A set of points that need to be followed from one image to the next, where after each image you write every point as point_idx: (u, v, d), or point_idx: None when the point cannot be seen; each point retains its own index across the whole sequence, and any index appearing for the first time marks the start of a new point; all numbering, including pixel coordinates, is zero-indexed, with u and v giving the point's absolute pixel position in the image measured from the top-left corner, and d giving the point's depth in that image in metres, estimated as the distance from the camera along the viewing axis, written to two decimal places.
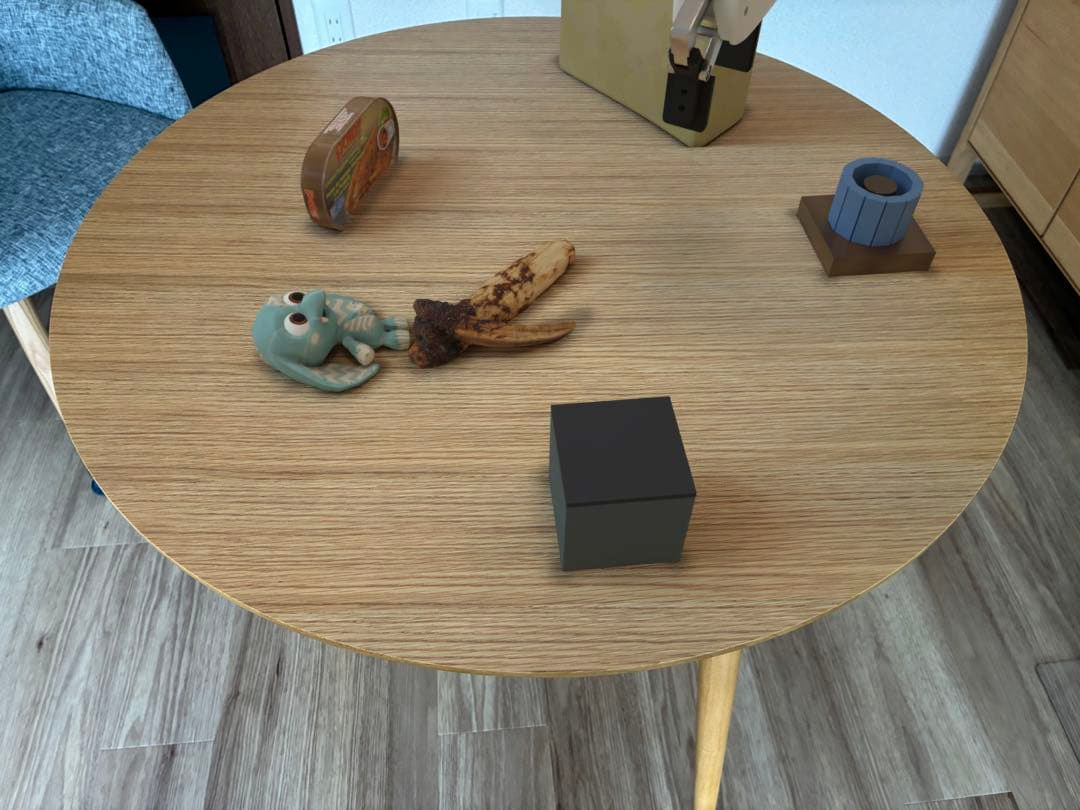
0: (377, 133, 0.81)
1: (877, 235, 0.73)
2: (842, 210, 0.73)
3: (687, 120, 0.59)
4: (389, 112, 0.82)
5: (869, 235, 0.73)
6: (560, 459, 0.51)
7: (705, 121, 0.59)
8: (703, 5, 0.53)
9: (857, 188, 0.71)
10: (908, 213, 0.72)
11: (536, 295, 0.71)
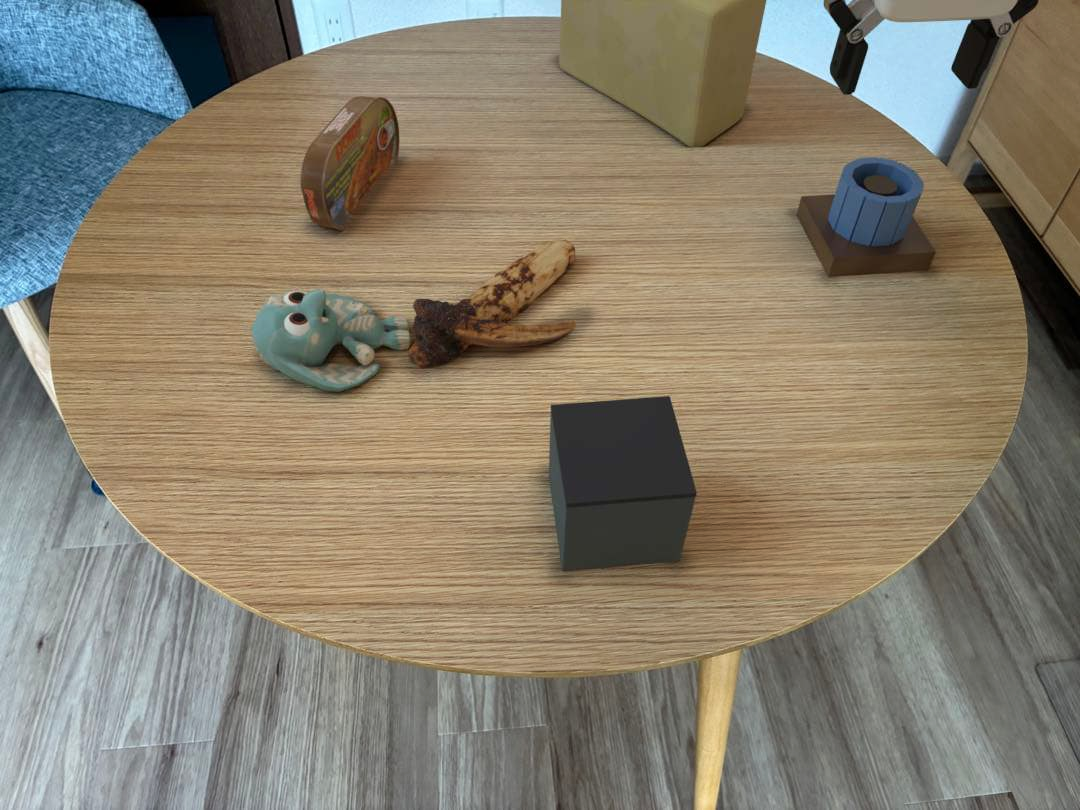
0: (377, 133, 0.81)
1: (877, 235, 0.73)
2: (842, 210, 0.73)
3: (835, 76, 0.64)
4: (389, 112, 0.82)
5: (869, 235, 0.73)
6: (560, 459, 0.51)
7: (848, 84, 0.64)
8: None
9: (857, 188, 0.71)
10: (908, 213, 0.72)
11: (536, 295, 0.71)
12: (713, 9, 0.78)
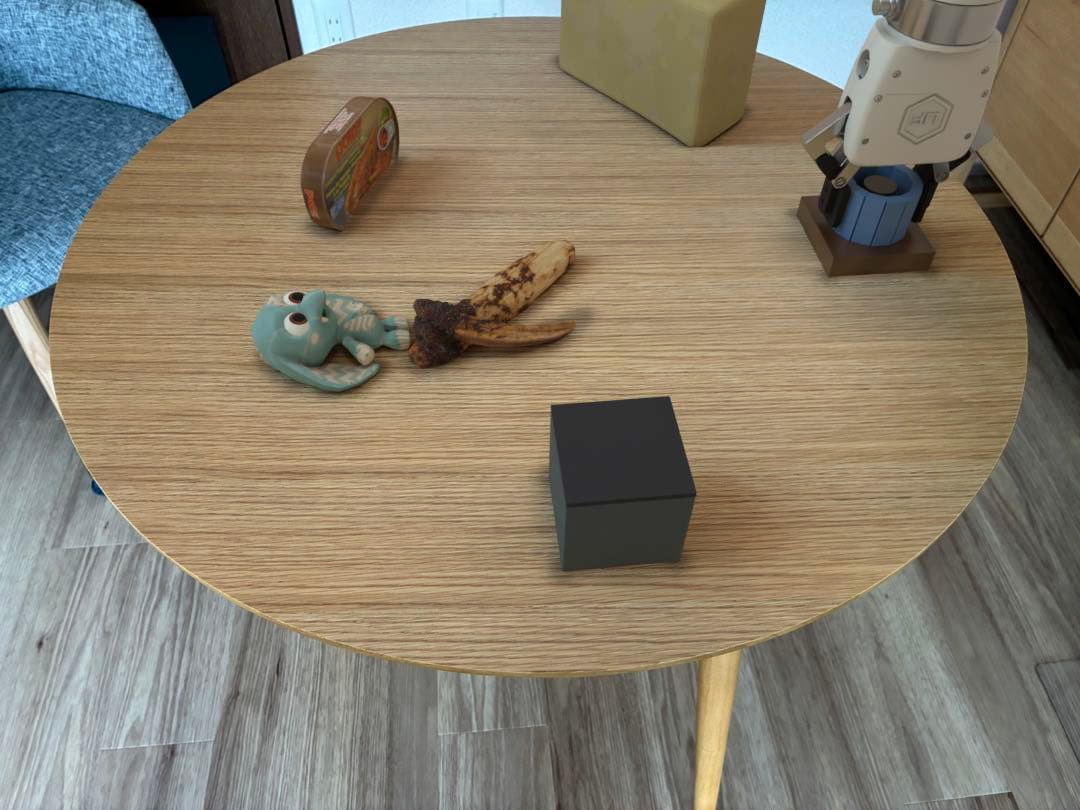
0: (377, 133, 0.81)
1: (877, 235, 0.73)
2: None
3: (822, 212, 0.74)
4: (389, 112, 0.82)
5: (869, 235, 0.73)
6: (560, 459, 0.51)
7: (834, 220, 0.73)
8: (830, 127, 0.67)
9: (857, 188, 0.71)
10: (908, 213, 0.72)
11: (536, 295, 0.71)
12: (713, 9, 0.78)
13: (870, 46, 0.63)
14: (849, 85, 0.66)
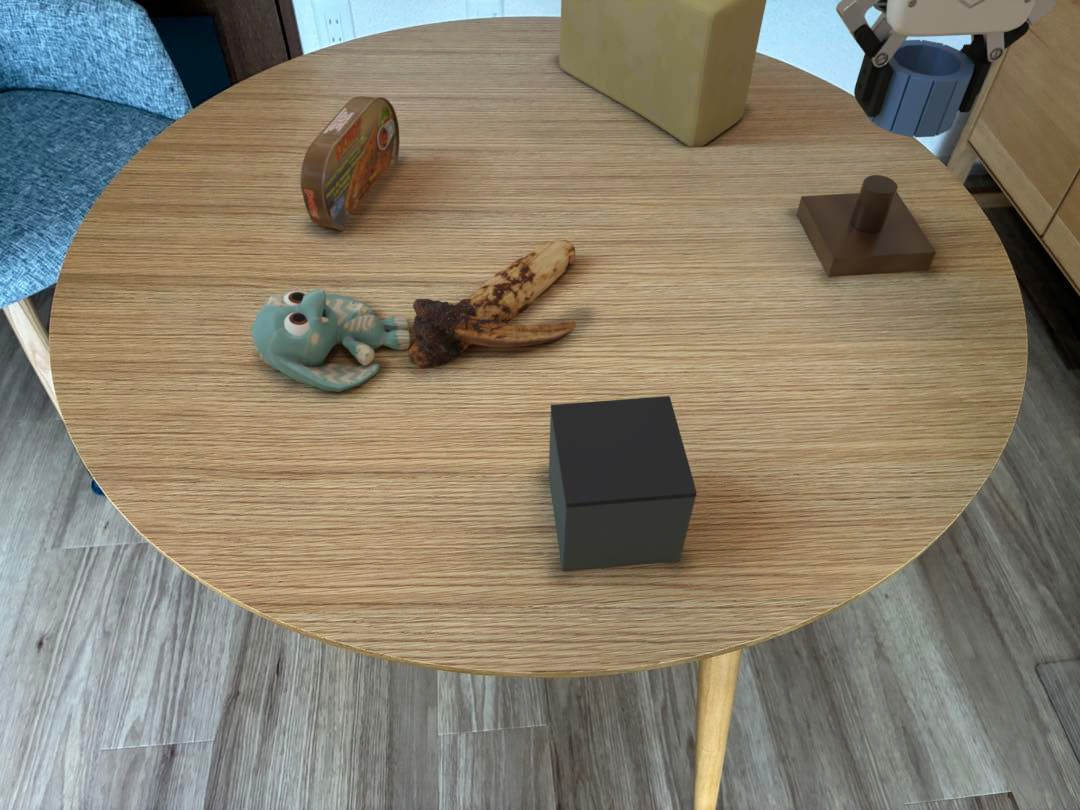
0: (377, 133, 0.81)
1: (922, 123, 0.64)
2: None
3: (859, 99, 0.66)
4: (389, 112, 0.82)
5: (913, 123, 0.65)
6: (560, 459, 0.51)
7: (873, 107, 0.65)
8: None
9: (899, 68, 0.63)
10: (957, 97, 0.64)
11: (536, 295, 0.71)
12: (713, 9, 0.78)
13: None
14: None
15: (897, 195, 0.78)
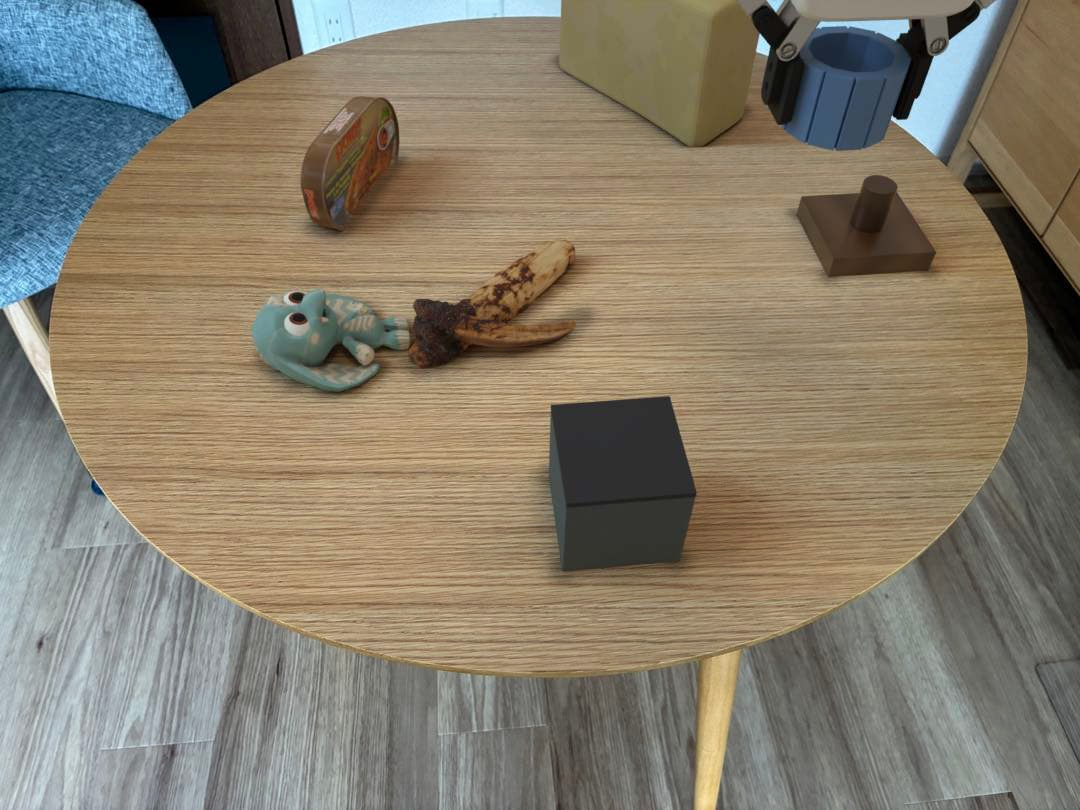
0: (377, 133, 0.81)
1: (843, 133, 0.50)
2: None
3: (766, 102, 0.51)
4: (389, 112, 0.82)
5: (832, 133, 0.51)
6: (560, 459, 0.51)
7: (782, 112, 0.51)
8: None
9: (813, 62, 0.49)
10: (888, 99, 0.49)
11: (536, 295, 0.71)
12: (713, 9, 0.78)
13: None
14: None
15: (897, 195, 0.78)
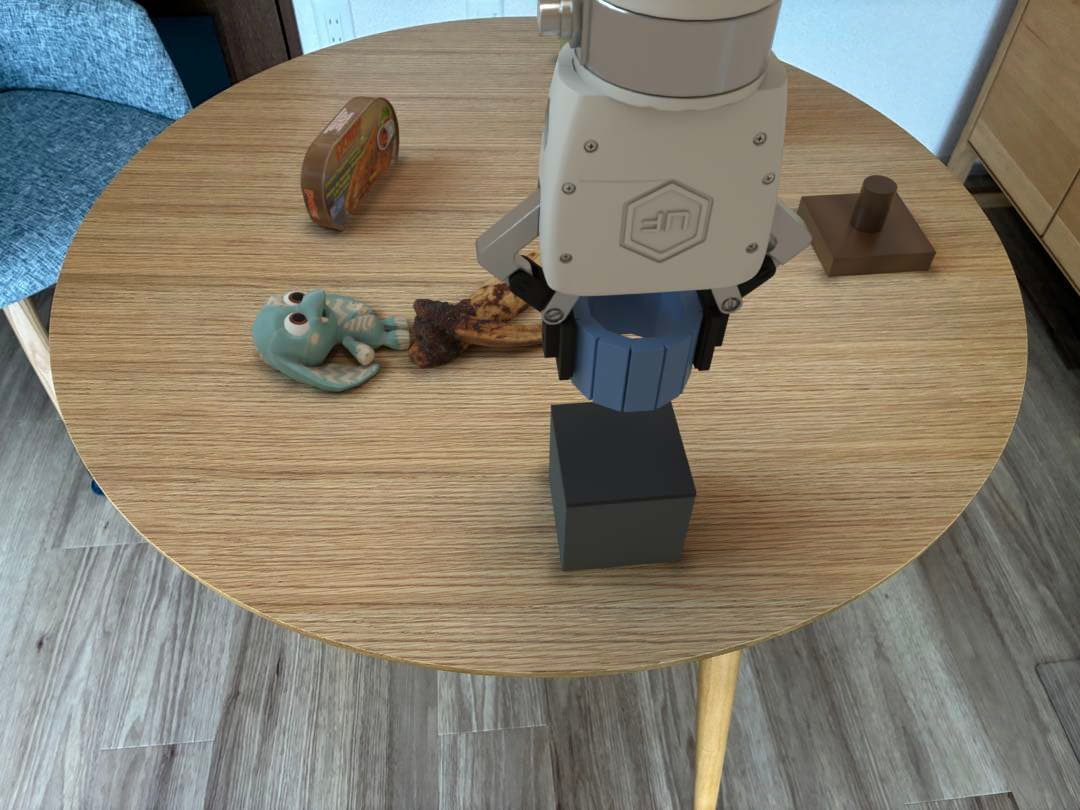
0: (377, 133, 0.81)
1: (629, 397, 0.44)
2: None
3: (544, 355, 0.45)
4: (389, 112, 0.82)
5: (616, 396, 0.44)
6: (560, 459, 0.51)
7: (560, 370, 0.44)
8: (514, 230, 0.38)
9: (588, 322, 0.42)
10: (676, 363, 0.43)
11: None
12: None
13: (551, 92, 0.34)
14: None
15: (897, 195, 0.78)
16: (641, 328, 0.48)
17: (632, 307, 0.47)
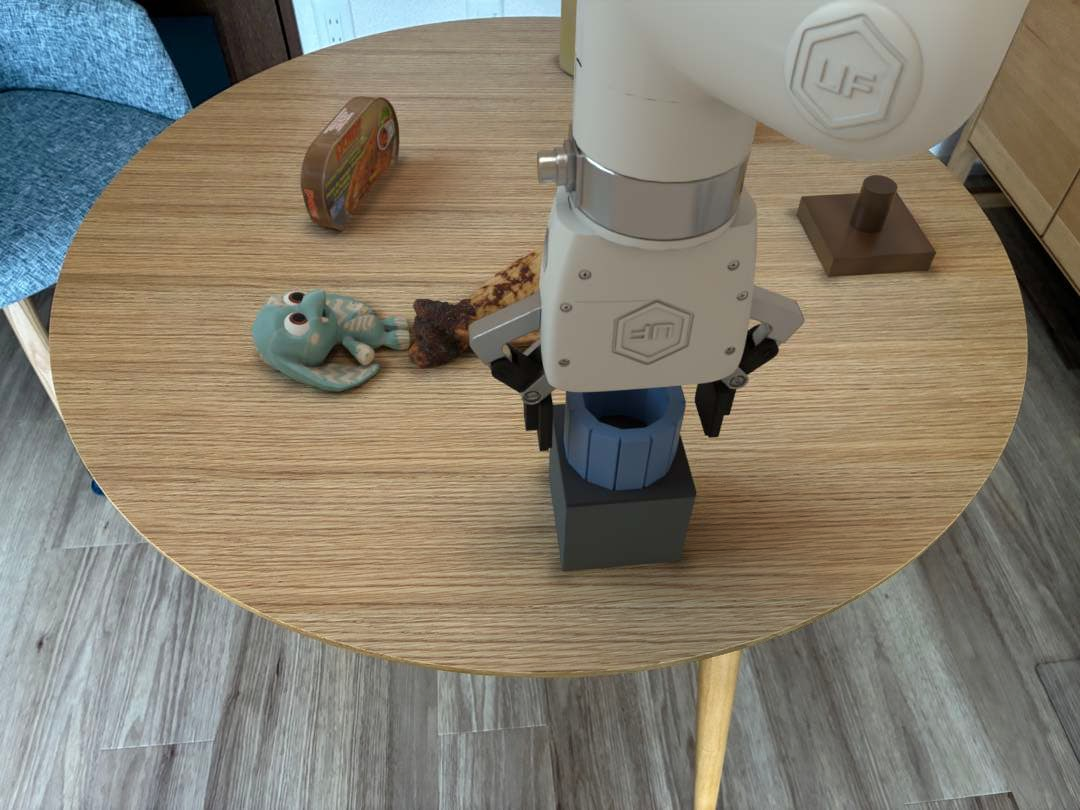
0: (377, 133, 0.81)
1: (619, 478, 0.49)
2: (570, 438, 0.49)
3: (525, 428, 0.49)
4: (389, 112, 0.82)
5: (608, 477, 0.49)
6: (560, 459, 0.51)
7: (540, 443, 0.48)
8: (510, 324, 0.42)
9: (582, 414, 0.47)
10: (661, 450, 0.48)
11: None
12: None
13: (550, 224, 0.39)
14: (540, 273, 0.42)
15: (897, 195, 0.78)
16: (631, 410, 0.53)
17: (623, 392, 0.52)
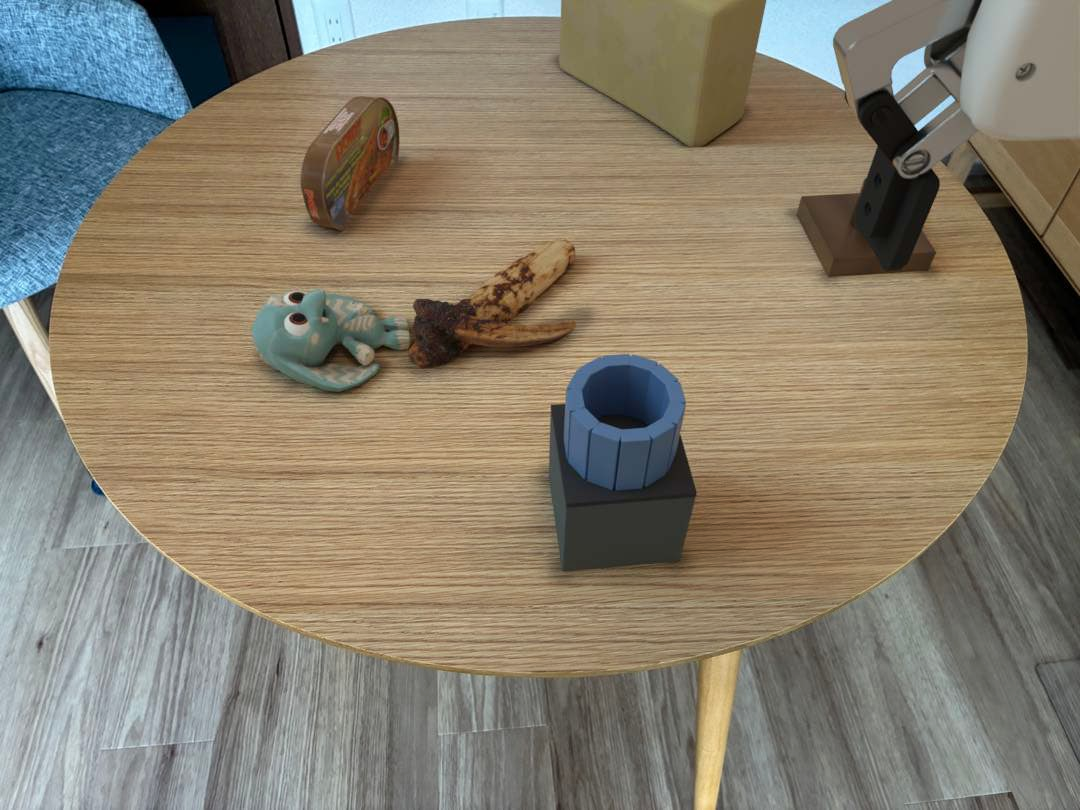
0: (377, 133, 0.81)
1: (619, 478, 0.49)
2: (570, 438, 0.49)
3: (866, 234, 0.32)
4: (389, 112, 0.82)
5: (608, 477, 0.49)
6: (560, 459, 0.51)
7: (895, 254, 0.31)
8: (925, 15, 0.25)
9: (582, 414, 0.47)
10: (661, 450, 0.48)
11: (536, 295, 0.71)
12: (712, 9, 0.78)
13: None
14: None
15: None
16: (631, 410, 0.53)
17: (623, 392, 0.52)
